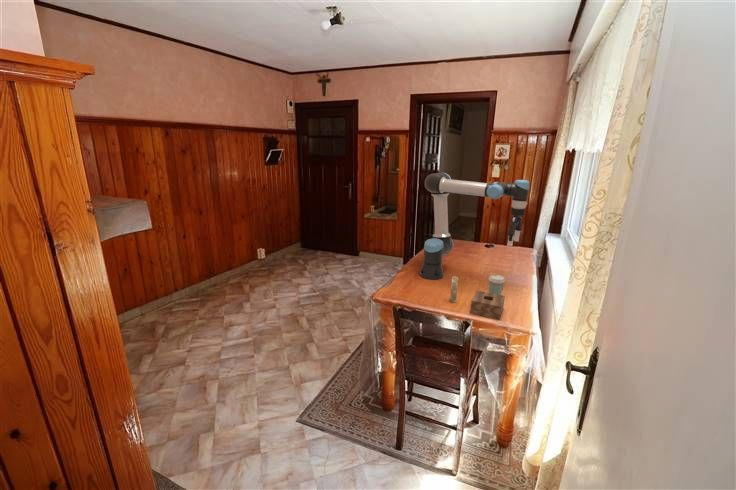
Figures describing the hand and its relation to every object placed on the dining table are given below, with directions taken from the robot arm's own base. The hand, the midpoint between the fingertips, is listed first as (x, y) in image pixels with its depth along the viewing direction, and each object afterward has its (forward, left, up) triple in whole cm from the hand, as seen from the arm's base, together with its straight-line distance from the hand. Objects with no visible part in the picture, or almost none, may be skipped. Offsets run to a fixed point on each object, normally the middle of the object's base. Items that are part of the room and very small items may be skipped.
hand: (512, 243), depth 195 cm
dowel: (-23, -38, -26) cm, 52 cm away
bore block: (-5, -40, -26) cm, 49 cm away
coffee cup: (-4, -21, -27) cm, 34 cm away
